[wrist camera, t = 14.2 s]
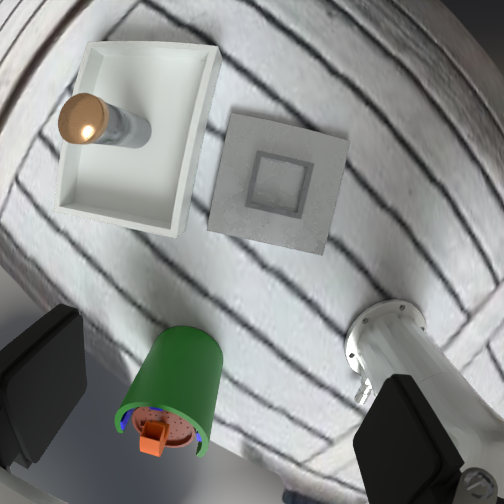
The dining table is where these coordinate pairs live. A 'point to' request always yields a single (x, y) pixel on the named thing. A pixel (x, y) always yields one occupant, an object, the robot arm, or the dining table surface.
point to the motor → (174, 392)
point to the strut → (101, 123)
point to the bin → (159, 145)
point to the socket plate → (277, 184)
